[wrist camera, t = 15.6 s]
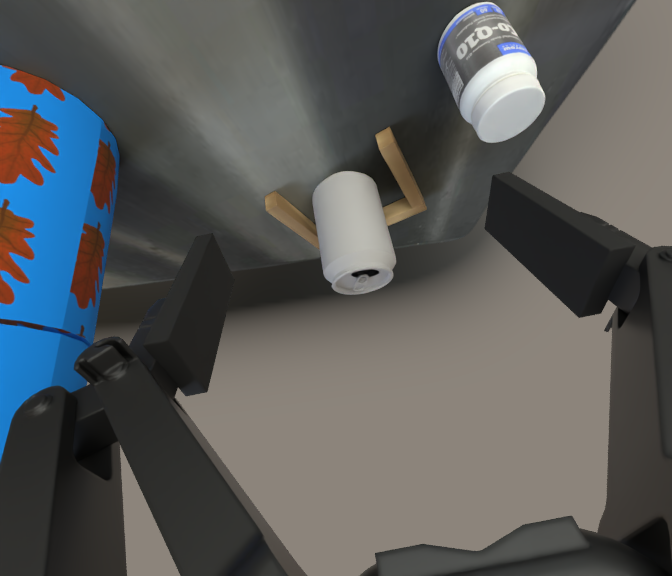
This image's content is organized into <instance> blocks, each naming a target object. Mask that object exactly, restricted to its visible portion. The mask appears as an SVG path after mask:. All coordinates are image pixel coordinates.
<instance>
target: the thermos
mask: <svg viewBox="0 0 672 576" xmlns="http://www.w3.org/2000/svg"><path fill="white" fill-rule="evenodd" d="M119 158H120V155H119V151H118V147H117V142H116V139H115V137H114V136H113V134H112V133H111V132H110V130H109V129H108V127H107V126H106V124H105V123H104V121H103V120H102V119H101V118H100V117H99V116H98V115H96V114H95V113H94V112H93V111H92V110H91V109H90V108H88V107H87V106H86V105H85V104H84V103H83V102H81V101H80V100H79V99H78V98H76V97H75V96H73V95H71V94H69V93H68V92H66V91H64V90H62V89H61V88H59V87H57V86H55V85H54V84H52V83H50V82H49V81H47V80H45V79H42V78H39V77H37V76H34V75H31V74H28V73H25V72H23V71H20V70H17V69H14V68H11V67H8V66H3V65H0V462H1V458H2V454H3V451H4V447H5V443H6V439H7V436H8V432H9V428H10V424H11V420H12V418H13V416H14V414H15V412H16V411H17V409H18V408H19V407H20V406H21V405H22V404H23V402H25V401H26V400H27V399H29V397H31V396H32V395H34V394H36V393H37V392H39V391H41V390H43V389H45V388H48V387H51V386H58V385H59V386H61V387H63V388H65V389H66V390H67V391H69V392H70V393H71V392H74V391H76V390H78V389H81V388H83V387H85V386H86V385H87V381H86V380H85V379H84V378H83V377H82V376H81V375H80V374H78V373H77V372H76V371H75V370H74V363H75V361H76V360H77V358H78V356H79V355H80V354H81V353H82V352H83V351H84V350H85V349H87V348H88V347H90V346H91V345H92V344H93V340H94V334H95V328H96V322H97V314H98V309H99V303H100V297H101V290H102V284H103V278H104V271H105V265H106V259H107V252H108V246H109V240H110V233H111V227H112V221H113V214H114V208H115V202H116V195H117V186H118V172H119Z"/></svg>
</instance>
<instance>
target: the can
mask: <svg viewBox="0 0 672 576" xmlns="http://www.w3.org/2000/svg"><path fill="white" fill-rule="evenodd" d="M312 203H313V209H314V216H315V222H316V228H317V235H318V241H319V247H320V254H321V260H322V266H323V273H324V276H325V278H326V279H327V280H329V281H330V282H331V283H332V288H333V289H334V290H335V291H337V292H339V293H342V294H352V295H353V294H363V293H367V292H371V291H374V290H377V289H379V288H381V287H383V286H385V285H386V284H388V283H389V282H390V281H391V279H392V278H393V271H392V269H393V268H394V265H395V264H396V257H395V253H394V249H393V245H392V242H391V238H390V234H389V230H388V227H387V223H386V219H385V215H384V212H383V208H382V204H381V200H380V197H379V193H378V189H377V185H376V183H375V182H374V180H373V179H372V178H371V177H369V176H367V175H366V174H363V173H358V172H353V171H342V172H339V173H335V174H333V175H331V176H329V177H328V178H326V179H325V180H323V181H322V182H321V183H320V184H319V185H318V186H317V187H316V189H315V191H314V193H313V198H312Z"/></svg>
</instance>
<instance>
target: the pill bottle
mask: <svg viewBox="0 0 672 576" xmlns="http://www.w3.org/2000/svg"><path fill="white" fill-rule="evenodd" d="M438 62H439V65H440V67H441V70H442V72H443V74H444V77H445V79H446V81H447V83H448V86H449V88H450V90H451V92H452V94H453V97H454V99H455V101H456V104H457V106H458V108H459V111H460V113H461V115H462V117H463V118H464V119H465V120H466V121H467V122H469V123H470V124H472V125H473V127H474V129H475V131H476V133H477V135H478V137H479V138H480V139H481V140H483V141H485V142H488V143H496V142H501V141H505V140H507V139H510V138H512V137H514V136H515V135H517V134H519V133H520V132H522V131H523V130H525V129H526V128H527V127H528V126H529V125H530V124H532V123H533V122H534V120H535V119H536V118H537V117H538V115H539V114H540V112H541V111H542V109H543V106H544V103H545V94H544V91H543V90H542V88H541V86H540V84H539V81H538V80H537V79H536V78H537V68H536V64H535V61H534V59H533V58H532V56H531V55H530V53H529V52H528V51H527V49H526V48H525V46H524V44H523V43H522V41H521V40H520V38H519V37H518V35H517V33H516V32H515V30H514V29H513V27H512V26H511V24H510V23H509V21H508V19H507V17H506V16H505V14H504V13H503V11H502V10H501V9H500V8H499V7H498V6H497V5H495V4H494V3H491V2H481V3H476V4H474V5H471V6H469V7H467V8H466V9H464V10H463V11H461V12H460V13H458V14H457V15H456V16H455V17H454V18H453V20H452V21H451V22H450V23H449V24H448V26H447V27H446V29H445V31H444V32H443V34H442V36H441V39H440V42H439V46H438Z"/></svg>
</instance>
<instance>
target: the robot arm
mask: <svg viewBox="0 0 672 576" xmlns="http://www.w3.org/2000/svg"><path fill="white" fill-rule="evenodd" d="M485 230H486V231H488V232H489V233H490V234H491V235H492V236H493V237H494V238H495V239H496V240H497V241H498V242H499V243H500V244H501V245H502V246H503V247H504V248H506V249H507V250H508V251H509V252H510V253H511V254H512V255H513V256H514V257H515V258H516V259H517V260H518V261H519V262H520V263H522V264H523V265H524V266H525V267H526V268H527V269H528V270H529V271H530V272H531V273H532V274H533V275H534V276H535V277H536V278H537V279H538V280H539V281H541V282H542V283H543V284H544V285H545V286H546V287H547V288H548V289H549V290H550V291H551V292H552V293H553V294H554V295H555V296H557V298H559V299H560V300H561V301H562V302H563V303H564V304H565V305H566V306H567V307H568V308H569V309H570V310H571V311H572V312H573V313H574V314H576V315H577V316H578V317H579V318H580V317H585V316H590V315H595V314H600V313H601V312H602V310H603V308H604V306H605V305H606V302H607V301H608V300H610V301H611V302H612V303H613V304H614V305H616V306H617V308H616V310H615V311H614V313H613V315H612V317H611V319H610V320H609V322H608V324H607V326H606V328H605V330H604V331H606V332H608V331H609V329H610V328H612V351H611V352H612V353H611V383H610V413H609V415H610V416H609V445H608V475H607V477H608V479H607V501H606V506H605V510H604V513H603V515H602V518H601V520H600V524H599V528H598V533H596V532H592V531H588V530H584V529H580V528H579V527H578V525H577V524H576V522H575V520H574V519H573V517H572V516H567V517H562V518H556V519H551V520H546V521H541V522H536V523H530V524H525V525H522V526H521V527H519V528H517V529H516V530H514V531H513V532H511V533H509V534H508V535H506V536H504V537H503V538H501V539H499V540H498V541H496V542H495V543H493V544H491V545H490V546H488V547H487V548H485V549H483V550H481V551H469V550H462V549H455V548H447V547H441V546H433V545H426V544H420V545H415V546H410V547H404V548H399V549H395V550H389V551H384V552H379V553H375V557H376V564H375V565H373V566H371V567H370V568H368V569H367V570H366V571H364V572H363V573H362V574H361V575H360V576H672V246H659V247H653V248H652V247H650V246H648V245H646V244H645V243H643V242H641V241H639V240H637V239H636V238H633V237H632V236H630V235H628V234H627V233H625V232H623V231H621V230H620V231H619V230H618V228H616V227H614V226H612V225H609V224H608V223H607V222H605V221H603V220H602V219H600V218H598V217H596V216H592V215H589V214H586V213H582V212H578V211H576V210H575V209H573V208H571V207H569V206H567V205H566V204H564V203H562V202H561V201H559V200H557V199H555V198H553V197H552V196H550V195H549V194H547V193H545V192H543V191H541V190H540V189H538V188H536V187H535V186H533V185H531V184H529V183H527V182H526V181H524V180H522V179H521V178H519V177H517V176H515V175H514V174H512V173H510V172H506V173H501V174H496V175H493V176H492V183H491V190H490V196H489V203H488V210H487V216H486V223H485ZM233 284H234V278H233V276H232V274H231V271H230V269H229V267H228V265H227V263H226V261H225V259H224V257H223V254H222V252H221V250H220V248H219V246H218V244H217V242H216V240H215V237H214V235H213V233H211V234H207V235H202V236H197V237H196V238H195V240H194V242H193V244H192V246H191V248H190V250H189V252H188V254H187V256H186V258H185V260H184V263H183V265H182V267H181V269H180V271H179V273H178V275H177V277H176V279H175V281H174V283H173V285H172V287H171V289H170V291H169V293H168V295H167V297H166V298H164V299H159V300H158V301H157V302H156V303H155V304H154V305H153V306H152V307H151V308H150V309H149V310H148V312H147V313H146V315H145V317H144V321H142V323H141V325H140V326H139V329H138V330H137V332H136V334H135V336H134V337H133V339H132V341H131V343H130V345H129V346H128V345H127V344H126V343H125V341H124V340H123V339H121V338H120V337H109V338H105V339H102V340H100V341H98V342H96V343H94V344H92V345H91V346H90V347H88V348H87V349H85V350H84V351H83V352H82V353H81V354H80V355H79V356H78V358H77V360H76V361H75V363H74V370H75V371H76V372H77V373H78V374H80V375H81V376H82V377H83V378H84V379H85V380H86V381H88V382H89V383H90V385H88V386H85V387H83V388H81V389H78V390H76V391H74V392H71V393H70V392H69V391H67V390H66V389H65V388H63V387H61V386H59V385H58V386H51V387H48V388H45V389H43V390H41V391H39V392H37V393H36V394H34V395H32V396H31V397H29V399H27V400H26V401H25V402H23V404H22V405H21V406H20V407H19V408H18V409H17V411H16V412H15V414H14V416H13V418H12V420H11V424H10V428H9V432H8V436H7V439H6V443H5V447H4V451H3V454H2V458H1V462H0V576H127V570H126V552H125V536H124V535H125V534H124V515H123V499H122V498H123V497H122V480H121V462H120V445H121V447H122V450H123V452H124V454H125V456H126V458H127V460H128V463H129V464H130V467H131V469H132V471H133V473H134V475H135V478H136V480H137V482H138V484H139V486H140V489H141V491H142V493H143V495H144V497H145V499H146V502H147V504H148V506H149V508H150V510H151V512H152V514H153V517H154V519H155V521H156V523H157V525H158V528H159V530H160V532H161V534H162V536H163V538H164V541H165V543H166V545H167V547H168V549H169V551H170V554H171V556H172V558H173V560H174V562H175V564H176V566H177V569H178V571H179V573H180V575H181V576H307V575H306V574H305V572H304V571H303V570H302V569H301V567H300V566H299V565H298V564H297V562H296V561H295V560H294V559H293V557H292V556H291V555H290V553H289V552H288V550H287V549H286V548H285V546H284V545H283V543H282V542H281V541H280V539H279V538H278V537H277V535H276V534H275V533H274V531H273V530H272V528H271V527H270V526H269V524H268V523H267V522H266V521H265V519H264V518H263V516H262V515H261V513H260V512H259V511H258V509H257V508H256V507H255V506H254V504H253V503H252V501H251V500H250V498H249V497H248V496H247V494H246V493H245V492H244V490H243V489H242V488H241V486H240V485H239V483H238V482H237V481H236V479H235V478H234V477H233V475H232V474H231V473H230V471H229V470H228V469H227V467H226V466H225V464H224V463H223V462H222V460H221V459H220V458H219V456H218V455H217V454H216V452H215V451H214V449H213V448H212V447H211V445H210V444H209V443H208V441H207V440H206V439H205V437H204V436H203V435H202V433H201V432H200V430H199V429H198V428H197V426H196V425H195V424H194V422H193V421H192V420H191V418H190V417H189V416H188V414H187V413H186V411H185V410H184V409H183V407H182V406H181V404H180V403H179V402H178V401H177V400H176V398H175V394H176V391H177V388H178V387H179V389H180V390H181V391H182V392H183V393H184V395H185V396H190V395H195V394H200V393H205V392H207V391H208V387H209V383H210V379H211V375H212V371H213V366H214V362H215V358H216V354H217V350H218V346H219V342H220V338H221V333H222V329H223V325H224V321H225V317H226V312H227V308H228V305H229V300H230V296H231V292H232V288H233Z"/></svg>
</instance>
